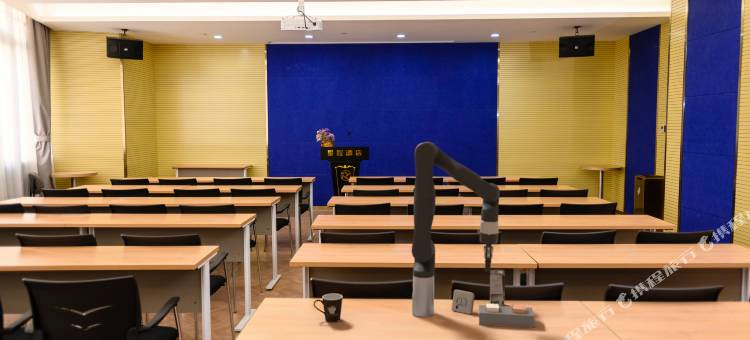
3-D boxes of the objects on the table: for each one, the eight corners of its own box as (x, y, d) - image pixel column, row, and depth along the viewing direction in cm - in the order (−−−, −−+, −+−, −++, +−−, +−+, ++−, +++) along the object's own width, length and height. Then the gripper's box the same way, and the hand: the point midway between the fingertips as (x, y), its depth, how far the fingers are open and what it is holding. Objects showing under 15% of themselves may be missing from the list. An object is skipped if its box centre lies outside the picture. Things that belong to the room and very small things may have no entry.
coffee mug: (346, 317, 243) (346, 295, 242) (336, 324, 235) (336, 301, 234) (322, 313, 248) (322, 291, 247) (312, 320, 240) (312, 297, 239)
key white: (486, 319, 235) (486, 307, 235) (486, 314, 240) (486, 303, 240) (498, 319, 234) (498, 308, 234) (498, 315, 239) (498, 304, 239)
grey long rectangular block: (479, 324, 234) (479, 312, 233) (479, 316, 243) (479, 304, 243) (533, 327, 230) (534, 315, 229) (531, 319, 239) (531, 307, 239)
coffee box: (504, 310, 250) (505, 275, 248) (489, 309, 251) (490, 274, 250) (504, 303, 259) (504, 269, 257) (489, 303, 260) (490, 268, 259)
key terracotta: (513, 320, 233) (513, 308, 233) (512, 316, 238) (512, 304, 238) (525, 321, 232) (526, 309, 232) (524, 317, 237) (525, 305, 237)
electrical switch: (451, 310, 250) (452, 290, 250) (456, 308, 255) (457, 288, 254) (470, 315, 245) (471, 294, 245) (475, 313, 249) (476, 292, 249)
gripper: (480, 227, 243) (478, 267, 245) (479, 234, 230) (478, 275, 232) (497, 228, 241) (496, 268, 243) (498, 235, 228) (497, 276, 230)
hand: (487, 271), depth 237 cm, fingers closed
